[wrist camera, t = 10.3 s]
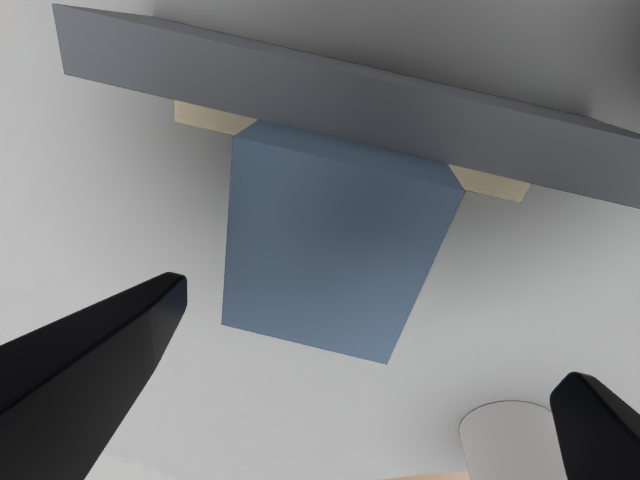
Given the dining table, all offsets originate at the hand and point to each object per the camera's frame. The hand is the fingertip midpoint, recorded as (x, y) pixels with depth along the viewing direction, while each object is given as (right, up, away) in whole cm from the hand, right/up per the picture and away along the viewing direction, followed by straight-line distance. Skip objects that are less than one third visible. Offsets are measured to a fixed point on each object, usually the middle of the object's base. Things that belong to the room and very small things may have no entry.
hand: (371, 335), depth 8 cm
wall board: (+1, +9, +8) cm, 12 cm away
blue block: (0, +5, +10) cm, 11 cm away
